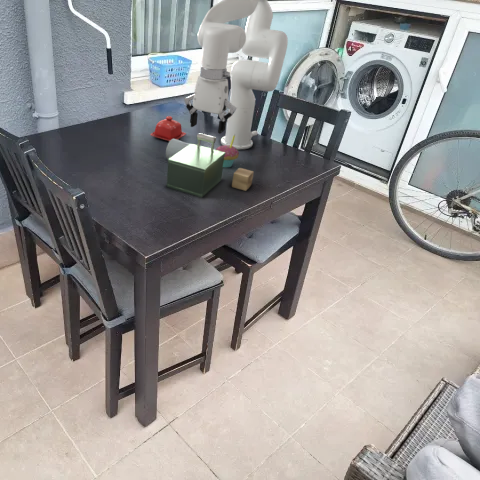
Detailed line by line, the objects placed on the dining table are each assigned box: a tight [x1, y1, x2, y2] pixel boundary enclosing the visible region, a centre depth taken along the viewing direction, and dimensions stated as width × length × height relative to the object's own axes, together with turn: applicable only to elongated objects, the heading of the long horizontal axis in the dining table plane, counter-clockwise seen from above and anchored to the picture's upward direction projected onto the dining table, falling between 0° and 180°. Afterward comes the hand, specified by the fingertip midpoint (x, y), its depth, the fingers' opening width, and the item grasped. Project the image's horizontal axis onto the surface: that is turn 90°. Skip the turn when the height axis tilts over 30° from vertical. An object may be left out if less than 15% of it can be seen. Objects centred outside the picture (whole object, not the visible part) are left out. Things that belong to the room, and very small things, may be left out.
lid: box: [167, 133, 226, 172], centre depth 141 cm, size 16×13×6 cm
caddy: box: [166, 156, 224, 198], centre depth 145 cm, size 15×13×9 cm
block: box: [231, 167, 255, 192], centre depth 146 cm, size 5×5×5 cm
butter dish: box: [149, 115, 187, 142], centre depth 178 cm, size 12×12×8 cm
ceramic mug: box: [165, 139, 191, 160], centre depth 160 cm, size 11×8×8 cm
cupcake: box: [215, 135, 240, 168], centre depth 157 cm, size 9×8×12 cm
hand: (207, 129), depth 142 cm, fingers open, 9 cm apart
